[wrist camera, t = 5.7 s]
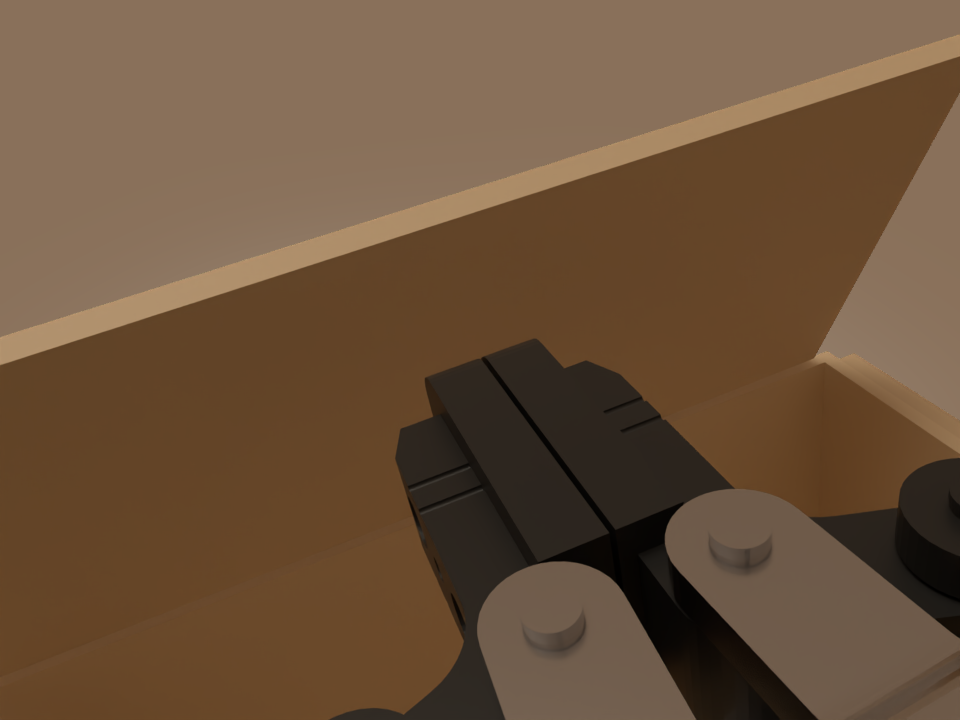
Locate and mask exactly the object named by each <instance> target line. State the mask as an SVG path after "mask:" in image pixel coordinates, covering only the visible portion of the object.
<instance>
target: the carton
mask: <svg viewBox="0 0 960 720" xmlns="http://www.w3.org/2000/svg"><path fill="white" fill-rule="evenodd" d="M662 419H663V420H665V419H666V420H667V421H668V422H669V423H670V424H671V425H672V426H673V427H674V428H675V429H676V430H677V431H678V432H679V433H680V434H681V435H682V436H683V437H684V438H685V439H686V440H687V441H688V442H689V443H690V444H691V445H692V446H693V447H694V448H695V449H696V450H697V451H698V452H699V453H700V454H701V455H702V456H703V457H704V458H705V459H706V460H707V461H708V462H709V463H710V464H711V465H712V466H713V467H714V468H715V469H716V470H717V471H718V472H719V473H720V474H721V475H722V476H723V477H724V478H725V479H726V480H727V481H728V482H729V483H730V484H731V485H732V486H733V487H734V488H735V489H747V490H755V491H760V492H765V493H768V494H771V495H774V496H777V497H779V498H781V499H783V500H785V501H787V502H789V503H791V504H792V505H793V506H795V507H796V508H798V509H799V510H800V511H802V512H803V513H804V514H805V515H807V516H808V517H829V516H839V515H846V514H854V513H861V512H869V511H876V510H884V509H891V508H898V502H899V494H900V488H901V486H902V484H903V482H904V481H905V479H906V478H907V477H908V476H909V475H910V474H911V473H912V472H914V471H915V470H916V469H918V468H920V467H922V466H924V465H926V464H929V463H932V462H935V461H939V460H944V459H950V458H960V421H959V420H958V419H956V418H955V417H953V416H951V415H950V414H948V413H947V412H945V411H943V410H942V409H940V408H939V407H937V406H936V405H934V404H933V403H931V402H929V401H928V400H926V399H925V398H923V397H921V396H920V395H919V394H917V393H915V392H914V391H912V390H911V389H909V388H908V387H906V386H904V385H903V384H901V383H900V382H898V381H897V380H895V379H894V378H892V377H890V376H889V375H887V374H886V373H884V372H883V371H881V370H879V369H878V368H876V367H875V366H873V365H871V364H870V363H869V362H867V361H865V360H864V359H862V358H861V357H859V356H858V355H856V354H854V353H853V354H851V355H848V356H846V357H843V358H841V359H838V358H837V357H835V356H834V355H832V354H831V353H829V352H828V351H826V352H824V353H821V354H818V355H816V356H815V357H814V359H811V360H809V361H806V362H804V363H801V364H799V365H796V366H794V367H791V368H788V369H786V370H783V371H781V372H778V373H776V374H773V375H771V376H768V377H765V378H763V379H760V380H758V381H755V382H753V383H750V384H748V385H745V386H742V387H740V388H737V389H735V390H732V391H730V392H727V393H725V394H722V395H720V396H717V397H714V398H712V399H709V400H707V401H704V402H702V403H699V404H697V405H694V406H691V407H689V408H686V409H684V410H681V411H679V412H676V413H674V414H671V415H668V416H666V417H663V418H662ZM463 643H464V640H463V638H462V636H461V634H460V631H459V629H458V627H457V624H456V622H455V620H454V618H453V615H452V613H451V611H450V608H449V606H448V603H447V601H446V599H445V597H444V595H443V592H442V590H441V588H440V586H439V583H438V581H437V578H436V577H435V574H434V572H433V570H432V567H431V565H430V563H429V561H428V558H427V556H426V554H425V551H424V549H423V547H422V544H421V540H420V537H419V534H418V531H417V527H416V524H415V521H414V518H413V516H411V517H408V518H406V519H403V520H401V521H398V522H395V523H393V524H390V525H388V526H385V527H383V528H380V529H378V530H375V531H372V532H370V533H367V534H365V535H362V536H360V537H357V538H355V539H352V540H349V541H347V542H344V543H342V544H339V545H337V546H334V547H332V548H329V549H327V550H324V551H321V552H319V553H316V554H314V555H311V556H309V557H306V558H304V559H301V560H298V561H296V562H293V563H291V564H288V565H286V566H283V567H281V568H278V569H275V570H273V571H270V572H268V573H265V574H263V575H260V576H258V577H255V578H253V579H250V580H247V581H245V582H242V583H240V584H237V585H235V586H232V587H230V588H227V589H224V590H222V591H219V592H217V593H214V594H212V595H209V596H207V597H204V598H201V599H199V600H196V601H194V602H191V603H189V604H186V605H184V606H181V607H178V608H176V609H173V610H171V611H168V612H166V613H163V614H161V615H158V616H156V617H153V618H150V619H148V620H145V621H143V622H140V623H138V624H135V625H133V626H130V627H127V628H125V629H122V630H120V631H117V632H115V633H112V634H110V635H107V636H104V637H102V638H99V639H97V640H94V641H92V642H89V643H87V644H84V645H82V646H79V647H76V648H74V649H71V650H69V651H66V652H64V653H61V654H59V655H56V656H53V657H51V658H48V659H46V660H43V661H41V662H38V663H36V664H33V665H30V666H28V667H25V668H23V669H20V670H18V671H15V672H13V673H10V674H8V675H5V676H2V677H0V720H329V719H331V718H333V717H335V716H338V715H340V714H343V713H346V712H349V711H354V710H358V709H367V708H380V709H388V710H392V711H396V712H399V713H401V714H403V715H404V714H405V713H406V712H407V711H409V710H410V709H411V708H412V707H413V706H415V705H416V704H417V703H418V702H419V701H421V700H422V699H423V698H424V697H425V696H427V695H428V694H429V693H430V692H431V691H432V690H433V689H434V688H435V687H437V686H438V685H439V684H440V683H441V682H442V680H443V679H444V678H445V677H446V676H447V674H448V673H449V672H450V671H451V669H452V667H453V666H454V664H455V662H456V661H457V659H458V656H459V654H460V652H461V649H462V647H463Z"/></svg>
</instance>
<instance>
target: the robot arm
mask: <svg viewBox="0 0 960 720" xmlns="http://www.w3.org/2000/svg"><path fill="white" fill-rule="evenodd" d="M425 387H426V392H427V396H428V400H429V403H430V407H431V411H432V414H433V417H431V418H429V419H426V420H423V421H420V422H418V423H415V424H412V425H410V426H407V427H404V428H401V429H400V434H399V439H398V445H397V451H396V456H395V460H396V463H397V466H398V470H399V473H400V476H401V479H402V482H403V486H404V489H405V492H406V495H407V499H408V502H409V505H410V508H411V511H412V515H413V518H414V521H415V524H416V527H417V531H418V534H419V537H420V540H421V544H422V547H423V549H424V551H425V554H426V556H427V558H428V561H429V563H430V565H431V567H432V570H433V572H434V574H435V577H436V578H437V581H438V583H439V586H440V588H441V590H442V592H443V595H444V597H445V599H446V601H447V603H448V606H449V608H450V611H451V613H452V615H453V618H454V620H455V622H456V624H457V627H458V629H459V631H460V634H461V636H462V638H463V640H464V643H463V647H462V649H461V652H460V654H459V656H458V659H457V661H456V662H455V664H454V666H453V667H452V669H451V671H450V672H449V673H448V674H447V676H446V677H445V678H444V679H443V680H442V682H441V683H440V684H439V685H438V686H437V687H435V688H434V689H433V690H432V691H431V692H430V693H429V694H428V695H427V696H425V697H424V698H423V699H422V700H421V701H419V702H418V703H417V704H416V705H415V706H413V707H412V708H411V709H410V710H409V711H407V712H406V713H405V714H404V715H403V714H401V713H399V712H396V711H392V710H388V709H380V708H367V709H358V710H354V711H349V712H346V713H343V714H340V715H338V716H335V717H333V718H331V719H329V720H960V458H950V459H944V460H939V461H935V462H932V463H929V464H926V465H924V466H922V467H920V468H918V469H916V470H915V471H914V472H912V473H911V474H910V475H909V476H908V477H907V478H906V479H905V481H904V482H903V484H902V486H901V488H900V494H899V502H898V508H891V509H884V510H876V511H869V512H861V513H854V514H846V515H839V516H829V517H808V516H807V515H805V514H804V513H803V512H802V511H800V510H799V509H798V508H796V507H795V506H793V505H792V504H791V503H789V502H787V501H785V500H783V499H781V498H779V497H777V496H774V495H771V494H768V493H765V492H760V491H755V490H747V489H735V488H734V487H733V486H732V485H731V484H730V483H729V482H728V481H727V480H726V479H725V478H724V477H723V476H722V475H721V474H720V473H719V472H718V471H717V470H716V469H715V468H714V467H713V466H712V465H711V464H710V463H709V462H708V461H707V460H706V459H705V458H704V457H703V456H702V455H701V454H700V453H699V452H698V451H697V450H696V449H695V448H694V447H693V446H692V445H691V444H690V443H689V442H688V441H687V440H686V439H685V438H684V437H683V436H682V435H681V434H680V433H679V432H678V431H677V430H676V429H675V428H674V427H673V426H672V425H671V424H670V423H669V422H668V421H667V420H666V419H665V420H663V419H662V418H661V414H660V413H659V412H658V411H657V410H656V409H655V408H654V407H653V406H652V405H651V404H650V403H649V402H648V401H644V400H643V398H642V395H641V394H640V393H639V392H638V391H637V390H636V389H635V388H634V387H633V386H632V385H631V384H630V383H629V382H628V381H626V380H625V379H624V378H623V377H622V376H621V375H620V374H619V373H616V372H614V371H611V370H609V369H606V368H604V367H602V366H599V365H597V364H594V363H592V362H589V361H587V360H586V361H583V362H580V363H577V364H575V365H572V366H569V367H566V368H563V366H562V365H561V364H560V363H559V362H558V361H557V360H556V359H555V358H554V356H553V355H552V354H551V353H550V352H549V351H548V350H547V349H546V347H545V346H544V345H543V344H542V343H541V342H540V341H539V340H537V339H535V338H533V339H531V340H528V341H525V342H522V343H519V344H517V345H514V346H511V347H508V348H505V349H503V350H500V351H497V352H494V353H491V354H489V355H486V356H483V357H482V358H481V359H475V360H472V361H470V362H467V363H464V364H461V365H459V366H456V367H453V368H450V369H447V370H445V371H442V372H439V373H436V374H433V375H431V376H428V377H425Z"/></svg>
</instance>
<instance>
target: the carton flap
mask: <svg viewBox="0 0 960 720" xmlns="http://www.w3.org/2000/svg"><path fill="white" fill-rule="evenodd" d="M959 93H960V34H959V35H956V36H953V37H950V38H947V39H944V40H940V41H937V42H934V43H931V44H928V45H925V46H921V47H918V48H915V49H912V50H909V51H906V52H902V53H899V54H896V55H893V56H890V57H887V58H883V59H880V60H877V61H874V62H871V63H868V64H864V65H861V66H858V67H855V68H852V69H849V70H845V71H842V72H839V73H836V74H833V75H830V76H826V77H823V78H820V79H817V80H814V81H811V82H807V83H804V84H801V85H798V86H795V87H792V88H788V89H785V90H782V91H779V92H776V93H773V94H769V95H766V96H763V97H760V98H757V99H754V100H750V101H747V102H744V103H741V104H738V105H735V106H732V107H728V108H725V109H722V110H719V111H715V112H713V113H709V114H706V115H703V116H700V117H697V118H693V119H690V120H687V121H684V122H681V123H677V124H674V125H672V126H668V127H665V128H662V129H659V130H655V131H652V132H649V133H646V134H643V135H640V136H636V137H633V138H630V139H627V140H624V141H621V142H618V143H614V144H611V145H608V146H605V147H601V148H598V149H595V150H592V151H589V152H586V153H583V154H579V155H576V156H573V157H570V158H567V159H563V160H560V161H557V162H554V163H551V164H548V165H544V166H541V167H538V168H535V169H532V170H529V171H525V172H522V173H519V174H516V175H513V176H510V177H506V178H503V179H500V180H497V181H494V182H491V183H487V184H484V185H481V186H478V187H475V188H472V189H468V190H465V191H462V192H459V193H456V194H453V195H450V196H446V197H443V198H440V199H437V200H434V201H430V202H427V203H424V204H421V205H418V206H415V207H411V208H408V209H405V210H402V211H399V212H396V213H392V214H389V215H386V216H383V217H380V218H376V219H373V220H370V221H367V222H364V223H361V224H358V225H354V226H351V227H348V228H345V229H342V230H338V231H335V232H332V233H329V234H326V235H323V236H319V237H316V238H313V239H310V240H307V241H304V242H301V243H297V244H294V245H291V246H288V247H285V248H282V249H278V250H275V251H272V252H269V253H266V254H262V255H259V256H256V257H253V258H250V259H247V260H243V261H241V262H237V263H234V264H231V265H228V266H224V267H221V268H218V269H215V270H212V271H209V272H205V273H202V274H199V275H196V276H193V277H190V278H186V279H183V280H180V281H177V282H174V283H171V284H167V285H164V286H161V287H158V288H155V289H152V290H149V291H145V292H142V293H139V294H136V295H133V296H129V297H126V298H123V299H120V300H117V301H113V302H110V303H107V304H104V305H101V306H98V307H94V308H91V309H89V310H85V311H82V312H79V313H75V314H72V315H69V316H66V317H63V318H60V319H57V320H53V321H50V322H47V323H44V324H41V325H37V326H34V327H31V328H28V329H25V330H22V331H19V332H15V333H13V334H9V335H6V336H3V337H0V677H2V676H5V675H8V674H10V673H13V672H15V671H18V670H20V669H23V668H25V667H28V666H30V665H33V664H36V663H38V662H41V661H43V660H46V659H48V658H51V657H53V656H56V655H59V654H61V653H64V652H66V651H69V650H71V649H74V648H76V647H79V646H82V645H84V644H87V643H89V642H92V641H94V640H97V639H99V638H102V637H104V636H107V635H110V634H112V633H115V632H117V631H120V630H122V629H125V628H127V627H130V626H133V625H135V624H138V623H140V622H143V621H145V620H148V619H150V618H153V617H156V616H158V615H161V614H163V613H166V612H168V611H171V610H173V609H176V608H178V607H181V606H184V605H186V604H189V603H191V602H194V601H196V600H199V599H201V598H204V597H207V596H209V595H212V594H214V593H217V592H219V591H222V590H224V589H227V588H230V587H232V586H235V585H237V584H240V583H242V582H245V581H247V580H250V579H253V578H255V577H258V576H260V575H263V574H265V573H268V572H270V571H273V570H275V569H278V568H281V567H283V566H286V565H288V564H291V563H293V562H296V561H298V560H301V559H304V558H306V557H309V556H311V555H314V554H316V553H319V552H321V551H324V550H327V549H329V548H332V547H334V546H337V545H339V544H342V543H344V542H347V541H349V540H352V539H355V538H357V537H360V536H362V535H365V534H367V533H370V532H372V531H375V530H378V529H380V528H383V527H385V526H388V525H390V524H393V523H395V522H398V521H401V520H403V519H406V518H408V517H411V516H413V515H412V511H411V508H410V505H409V502H408V499H407V495H406V492H405V489H404V486H403V482H402V479H401V476H400V473H399V470H398V466H397V463H396V460H395V456H396V451H397V445H398V439H399V434H400V429H401V428H404V427H407V426H410V425H412V424H415V423H418V422H420V421H423V420H426V419H429V418H431V417H433V414H432V411H431V407H430V403H429V400H428V396H427V392H426V387H425V377H428V376H431V375H433V374H436V373H439V372H442V371H445V370H447V369H450V368H453V367H456V366H459V365H461V364H464V363H467V362H470V361H472V360H475V359H481V358H482V357H483V356H486V355H489V354H491V353H494V352H497V351H500V350H503V349H505V348H508V347H511V346H514V345H517V344H519V343H522V342H525V341H528V340H531V339H533V338H535V339H537V340H539V341H540V342H541V343H542V344H543V345H544V346H545V347H546V349H547V350H548V351H549V352H550V353H551V354H552V355H553V356H554V358H555V359H556V360H557V361H558V362H559V363H560V364H561V365H562V366H563V368H566V367H569V366H572V365H575V364H577V363H580V362H583V361H586V360H587V361H589V362H592V363H594V364H597V365H599V366H602V367H604V368H606V369H609V370H611V371H614V372H616V373H619V374H620V375H621V376H622V377H623V378H624V379H625V380H626V381H628V382H629V383H630V384H631V385H632V386H633V387H634V388H635V389H636V390H637V391H638V392H639V393H640V394H641V395H642V398H643V400H644V401H648V402H649V403H650V404H651V405H652V406H653V407H654V408H655V409H656V410H657V411H658V412H659V413H660V414H661V418H663V417H666V416H668V415H671V414H674V413H676V412H679V411H681V410H684V409H686V408H689V407H691V406H694V405H697V404H699V403H702V402H704V401H707V400H709V399H712V398H714V397H717V396H720V395H722V394H725V393H727V392H730V391H732V390H735V389H737V388H740V387H742V386H745V385H748V384H750V383H753V382H755V381H758V380H760V379H763V378H765V377H768V376H771V375H773V374H776V373H778V372H781V371H783V370H786V369H788V368H791V367H794V366H796V365H799V364H801V363H804V362H806V361H809V360H811V359H814V357H815V355H816V353H817V352H818V350H819V348H820V346H821V344H822V342H823V341H824V339H825V337H826V335H827V333H828V332H829V330H830V328H831V326H832V324H833V322H834V321H835V319H836V317H837V315H838V313H839V312H840V310H841V308H842V306H843V304H844V302H845V301H846V299H847V297H848V295H849V293H850V292H851V290H852V288H853V286H854V284H855V282H856V281H857V279H858V277H859V275H860V273H861V272H862V270H863V268H864V266H865V264H866V262H867V261H868V259H869V257H870V255H871V253H872V251H873V249H874V248H875V246H876V244H877V242H878V241H879V239H880V237H881V235H882V233H883V231H884V230H885V228H886V226H887V224H888V222H889V220H890V219H891V217H892V215H893V213H894V211H895V210H896V208H897V206H898V204H899V202H900V200H901V199H902V197H903V195H904V193H905V191H906V190H907V188H908V186H909V184H910V182H911V180H912V179H913V177H914V175H915V173H916V171H917V170H918V168H919V166H920V164H921V162H922V160H923V159H924V157H925V155H926V153H927V151H928V150H929V148H930V146H931V143H932V142H933V140H934V139H935V137H936V135H937V133H938V131H939V129H940V128H941V126H942V124H943V122H944V120H945V119H946V117H947V115H948V113H949V111H950V109H951V108H952V106H953V104H954V102H955V100H956V98H957V97H958V95H959Z"/></svg>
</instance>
